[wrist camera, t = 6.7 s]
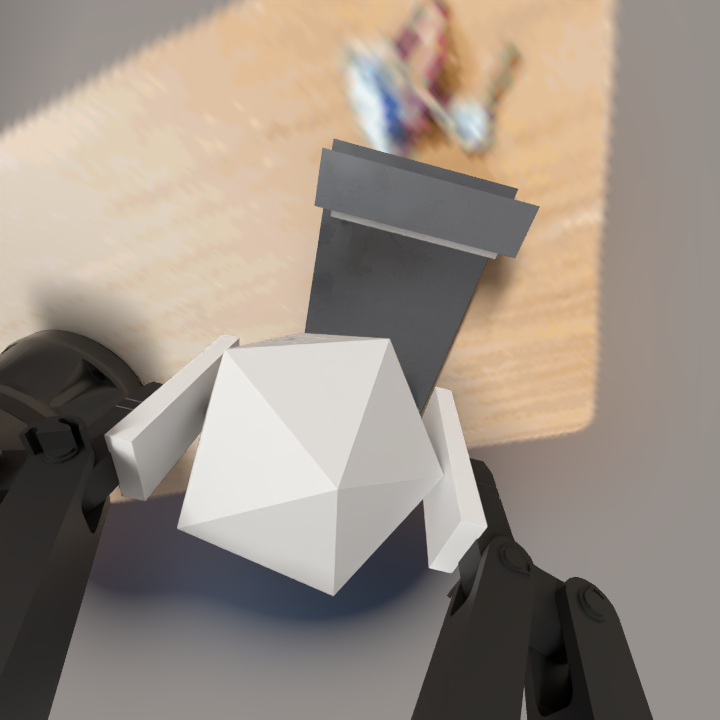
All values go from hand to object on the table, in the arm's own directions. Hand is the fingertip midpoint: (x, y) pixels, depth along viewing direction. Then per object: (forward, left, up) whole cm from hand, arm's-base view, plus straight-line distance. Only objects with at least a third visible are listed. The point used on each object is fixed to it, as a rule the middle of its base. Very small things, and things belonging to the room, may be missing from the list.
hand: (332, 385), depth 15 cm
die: (0, 0, 0) cm, 0 cm away
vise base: (+3, -2, -16) cm, 17 cm away
